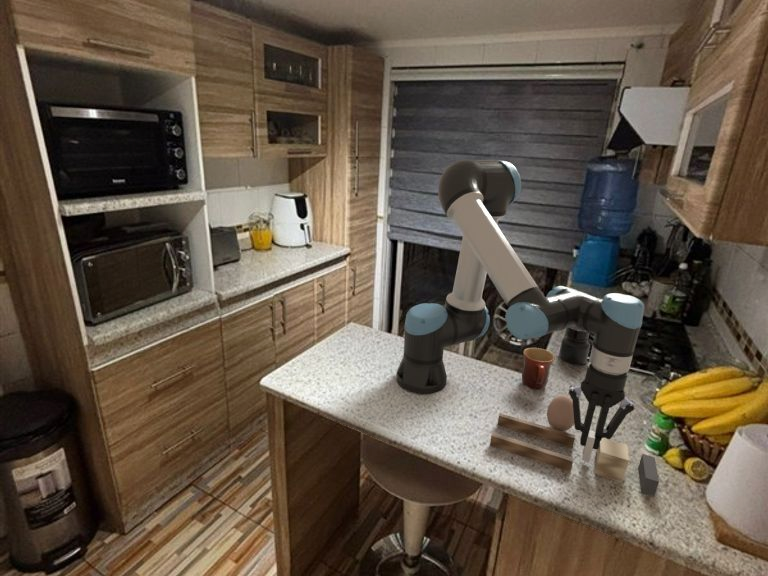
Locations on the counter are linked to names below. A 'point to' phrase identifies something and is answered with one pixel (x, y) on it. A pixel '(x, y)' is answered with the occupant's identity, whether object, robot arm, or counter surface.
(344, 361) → the counter surface
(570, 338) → the ink bottle
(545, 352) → the mug
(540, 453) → the chute
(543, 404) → the counter surface
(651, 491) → the block
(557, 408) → the egg
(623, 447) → the block
